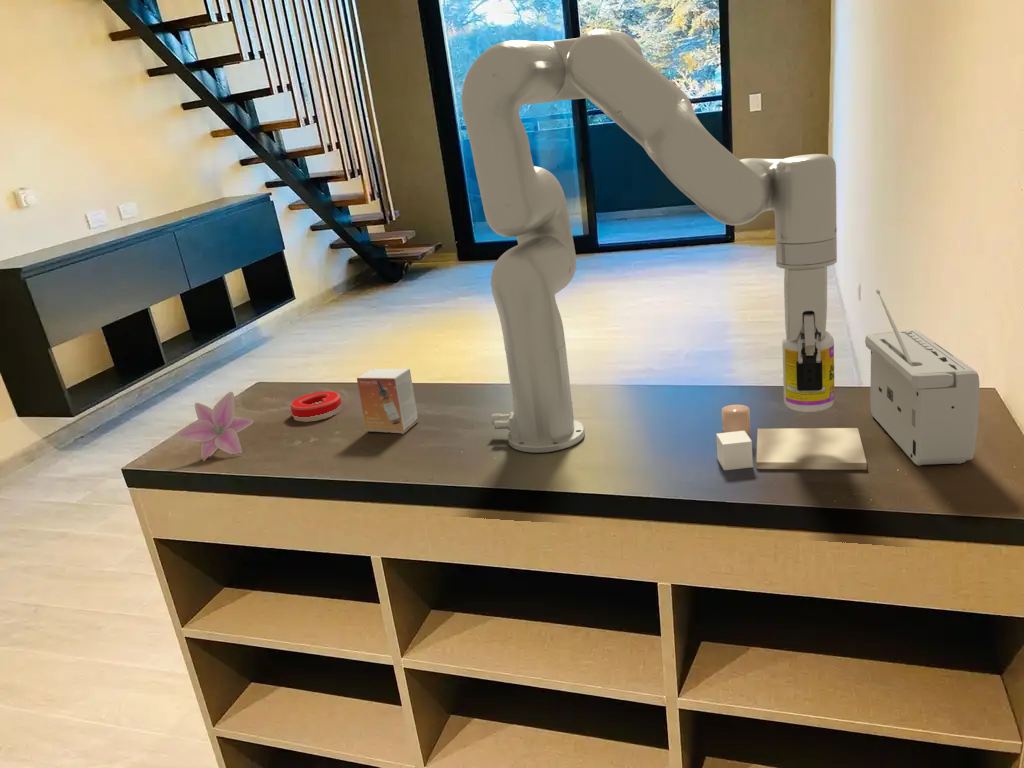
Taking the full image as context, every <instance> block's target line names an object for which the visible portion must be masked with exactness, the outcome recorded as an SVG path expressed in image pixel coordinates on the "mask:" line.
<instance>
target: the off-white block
mask: <svg viewBox="0 0 1024 768" xmlns="http://www.w3.org/2000/svg"><path fill="white" fill-rule="evenodd" d="M715 435H716V436H715V438H716V439H715V440H716V455H717V456H716V457H717V461H718V462H719V464H720V466H721V468H722V469H723V471H730V470H731V471H732V470H740V469H748V468H750V469H751V468H753V467H754V462H753V440H752V439H750V438H749V436H748V435H747V434H746V432H745V431H736V432H727V433H723V432H719V433H716V434H715Z"/></svg>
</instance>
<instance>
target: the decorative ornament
mask: <svg viewBox="0 0 1024 768" xmlns="http://www.w3.org/2000/svg"><path fill="white" fill-rule="evenodd" d="M319 401H322V403H319V404H313V405H310V404H312V403H315V402H319ZM341 403H342V399H341V395H340V393H338V392H336V391H330V390H328V391H327V390H326V391H317V392H312V393H308V394H305V395H302V396H300V397H298V398H296V399H294V400H293V401H292V402H291V403H290V410H291V415H292V414H293V415H294V416H298V417H310V416H315V415H320V414H324V413H327V412H329V411H332V410H334V409H336V408H337V407H338V406H339V405H340V404H341ZM293 415H292V416H293Z"/></svg>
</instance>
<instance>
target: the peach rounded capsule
mask: <svg viewBox="0 0 1024 768" xmlns="http://www.w3.org/2000/svg"><path fill="white" fill-rule="evenodd" d="M750 413H751V411H750V407H749V406H747V405H744V404H729V405H726V406H723V407H722V408H721V421H722V423H721V424H722V425H721V426H722V433H727V432H736V431H745V432H746V434H747V435H748V436H749V438H750V439H751V416H750V415H751V414H750ZM751 440H752V439H751Z"/></svg>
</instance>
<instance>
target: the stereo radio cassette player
mask: <svg viewBox="0 0 1024 768" xmlns="http://www.w3.org/2000/svg"><path fill="white" fill-rule="evenodd" d="M875 292H876V294H877V295H879V299H880V301H881V304H882V306H883V308H884V311H885V314H886V317H887V318H888V320H889V324H890V326H891V328H892V330H893V331H885V332H877V333H870V334H867V335H866V336H865V340H864V341H865V342H864V343H865V347H866V348H867V349H868V350H870V385H869V386H870V390H869V391H870V393H869V394H870V395H869V397H870V398H869V407H870V412H871V416H872V417H873V418H874V419H875V420H876V421H877V422H878V423H879V424H880V426H881V428H883V430H884V431H885V432H886V433H888V435H889V436H890V437H891V439H893V441H895V443H896V444H897V445H898V446H899V447H900V449H902V451H903V452H904V453H905V454H906V456H907V457H909V459H911V461H912V463H914V464H915V465H916V466H919V467H920V466H922V465H943V464H945V465H946V464H948V465H949V464H956V465H960V464H962V463H965V462H967V461H970V460H973V458H974V457H975V451H976V444H977V436H978V428H979V416H980V415H979V414H980V413H979V412H980V376H979V373H978V371H976V370H975V369H973V368H972V367H971V366H969V365H968V364H966V363H965V362H963V361H962V360H960V359H959V358H958V357H956V356H955V355H953V354H951V353H950V352H949V351H948V350H946V349H945V348H943V347H942V346H940V345H939V344H937V343H936V342H934V340H932V339H931V338H929V337H928V336H926V335H925V334H924V333H922V332H921V331H919V330H916V329H910V330H901V331H899V330H898V329H897V326H896V324H895V321H894V320H893V318H892V316H891V313H890V311H889V309H888V308H887V305H886V303H885V301H884V299H883V297H882V296H881V290H880V289H876V291H875Z"/></svg>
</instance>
